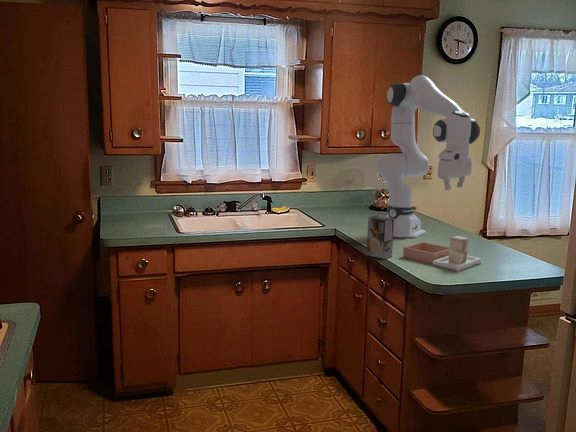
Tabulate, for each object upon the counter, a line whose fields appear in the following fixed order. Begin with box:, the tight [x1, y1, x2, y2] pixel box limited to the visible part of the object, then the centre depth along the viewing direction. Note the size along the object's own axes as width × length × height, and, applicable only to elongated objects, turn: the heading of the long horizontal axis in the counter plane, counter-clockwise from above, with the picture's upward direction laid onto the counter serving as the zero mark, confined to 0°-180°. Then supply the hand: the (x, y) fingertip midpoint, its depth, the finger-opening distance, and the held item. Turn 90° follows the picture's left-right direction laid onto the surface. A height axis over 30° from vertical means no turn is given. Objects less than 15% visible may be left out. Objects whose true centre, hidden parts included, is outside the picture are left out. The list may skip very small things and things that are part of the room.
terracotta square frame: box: [402, 241, 450, 264], centre depth 246 cm, size 15×15×4 cm
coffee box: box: [366, 215, 394, 260], centre depth 245 cm, size 9×6×16 cm
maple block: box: [448, 235, 469, 265], centre depth 235 cm, size 5×5×10 cm
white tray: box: [432, 254, 482, 272], centre depth 236 cm, size 18×11×2 cm, turn 135°
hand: (453, 188), depth 235 cm, fingers open, 8 cm apart
